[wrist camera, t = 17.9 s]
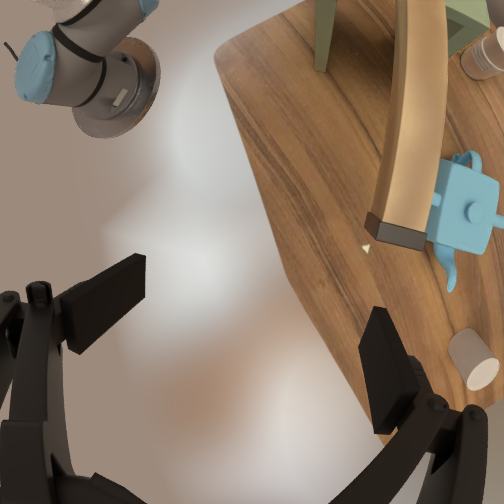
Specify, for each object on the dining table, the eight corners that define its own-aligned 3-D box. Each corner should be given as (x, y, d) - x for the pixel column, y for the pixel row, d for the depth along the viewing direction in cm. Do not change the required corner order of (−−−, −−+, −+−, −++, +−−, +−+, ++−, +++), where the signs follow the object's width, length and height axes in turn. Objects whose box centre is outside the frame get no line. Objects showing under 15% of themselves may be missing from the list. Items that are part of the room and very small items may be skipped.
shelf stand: (313, 70, 43) (316, -41, 13) (321, 17, 39) (323, -104, 9) (402, 92, 41) (498, 23, 11) (405, 38, 37) (477, -54, 7)
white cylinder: (471, 355, 51) (491, 386, 40) (444, 360, 53) (461, 393, 41) (480, 326, 49) (504, 355, 38) (452, 330, 50) (474, 361, 39)
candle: (457, 73, 36) (497, 51, 22) (458, 45, 34) (494, 19, 20) (485, 87, 36) (527, 72, 22) (485, 60, 33) (524, 40, 19)
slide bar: (363, 227, 20) (374, 240, 16) (391, -30, 13) (401, -53, 9) (405, 237, 20) (423, 252, 16) (428, -17, 12) (442, -37, 9)
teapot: (386, 177, 46) (411, 181, 33) (455, 141, 41) (494, 138, 28) (422, 267, 49) (451, 296, 36) (486, 229, 44) (524, 248, 31)
